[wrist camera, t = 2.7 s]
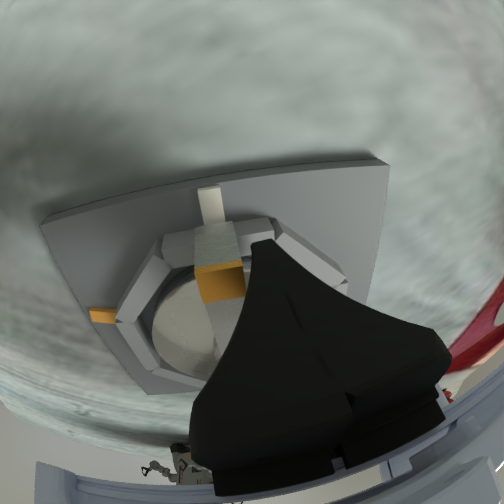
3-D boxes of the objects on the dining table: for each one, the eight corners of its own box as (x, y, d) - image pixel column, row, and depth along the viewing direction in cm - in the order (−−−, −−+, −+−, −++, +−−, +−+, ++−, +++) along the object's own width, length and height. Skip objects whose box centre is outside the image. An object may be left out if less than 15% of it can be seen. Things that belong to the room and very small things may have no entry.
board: (344, 349, 21) (354, 370, 20) (147, 385, 20) (146, 407, 18) (379, 159, 12) (404, 173, 10) (47, 216, 11) (28, 239, 9)
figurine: (196, 422, 26) (213, 541, 14) (243, 441, 32) (261, 530, 20) (140, 433, 27) (146, 535, 15) (192, 451, 33) (203, 533, 21)
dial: (306, 348, 18) (325, 399, 15) (180, 371, 17) (182, 424, 14) (315, 192, 12) (362, 243, 8) (112, 227, 11) (82, 292, 7)
